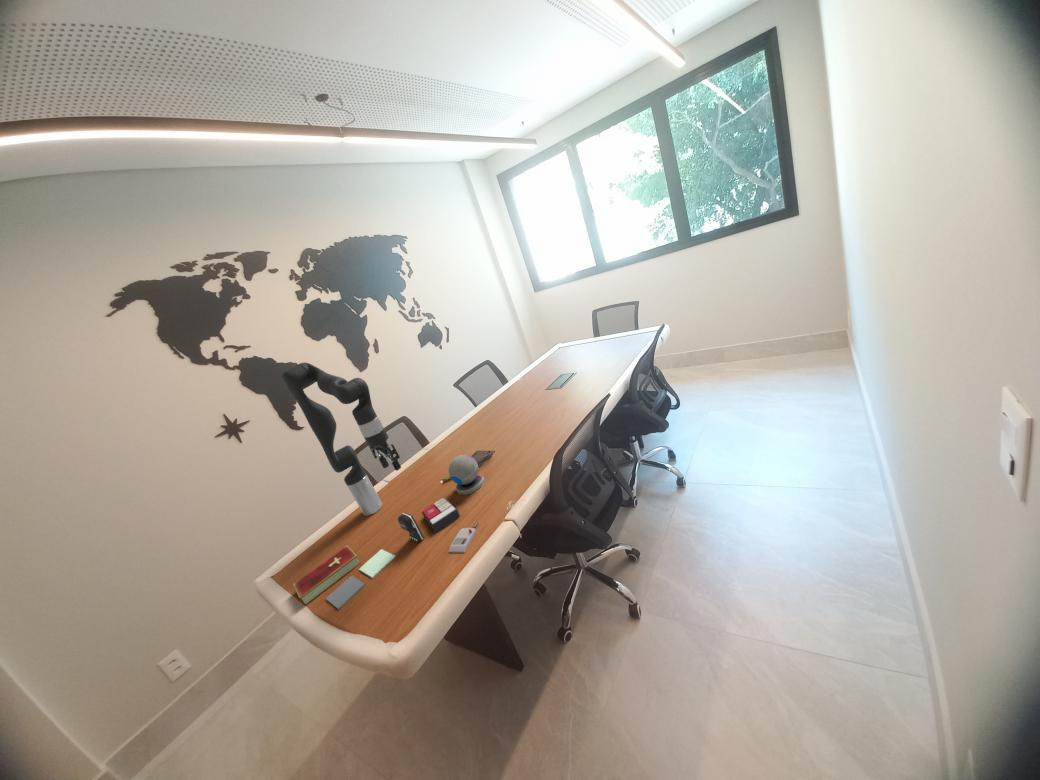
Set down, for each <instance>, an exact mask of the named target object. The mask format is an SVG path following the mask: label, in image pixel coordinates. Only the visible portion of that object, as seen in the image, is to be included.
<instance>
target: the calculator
mask: <svg viewBox="0 0 1040 780" xmlns="http://www.w3.org/2000/svg"><path fill="white" fill-rule="evenodd" d="M421 514H422V516H423V518H424V519H425V520H426V522H427V523H428V524H429V525H430V527H431V529H432V530H433V531H434V532H435V533H437V532H439V531H441V530H443V528H445V527H446V526H448V525H449V524H451V523H453V522H454V521H456V520H457V519H458V518H460V517H461V515H460V512H459V511H458V509H457V508H456V507H455V506H454V505H453V504H452V503H451V502H450V501H449V500H448V499H447V498H446V497H442V498H440V499H438V500H437V501H435V502H434V503H433V504H431V505H429V506H427V507H426V508H424V509H423V510H422V512H421Z"/></svg>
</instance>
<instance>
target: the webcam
mask: <svg viewBox="0 0 1040 780" xmlns="http://www.w3.org/2000/svg"><path fill="white" fill-rule="evenodd" d="M479 470H480V468H479V465H478V462H477V460H476V459H475V457H473V456H471V455H469V454H465V453H464V454H459V455H457V456H456V457H454V458H452V460H451V462H450V463H449V466H448V475H449V477H450V479H451V480H452V481H453V482H454V484H456V487H455V489H456V492H457V494H458V495H464V496H465V495H468V494H469V495H470V494H472V493H474V492H476V491H478V490H479V489H480V488H481V487H482V486H483V485H484V483H485V478H484V476H481V475H478V474H479Z"/></svg>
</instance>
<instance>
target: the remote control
mask: <svg viewBox="0 0 1040 780" xmlns="http://www.w3.org/2000/svg"><path fill="white" fill-rule="evenodd" d="M477 525H478V522H476V523H475V524H474V526H473V527H470V526H468V525H466V527H464V528H461V529H460V530H459V531H458V532H457V534H456V536H455V537H454V539H453V541H452V542H451V544H450V546H449V547H448V548H449V549H448V553H456V554H457V553H460V554H461V553H463V554H464V553H466V551H467V550H468V548H469V546H470V544H471V543H472V540H473V539H474V537H475V536H476V534H477V530H476V527H477Z"/></svg>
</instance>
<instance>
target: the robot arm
mask: <svg viewBox="0 0 1040 780" xmlns="http://www.w3.org/2000/svg"><path fill="white" fill-rule="evenodd" d="M281 377H282V380H283V382H284V384H285V386H286V387H287V390H289V392H290V394H291V395H292V397H293V398H294V399H295V401H296V403H297V404H298V406H299V408H300V409H301V411H302V413H303V415H304V416H305V419H306V421H307V424H308V425H309V427H310V428H311V430H312V432H313V433H314V435H315V438H317V440H318V441H319V443H320V446H321V447H322V449H323V452H324V454H325V456H326V457H327V460H328V463H329V465H330V466H331V468H332V470H333V471H334V472H336V473H337V474H339V473H342V472H344V471H345V470H348V469H349V468H351V469H350V470H349V472H348V473H347V474H346V475H345V477H344V479H343V481H344V483H345V484H346V487H347V489H348V490H349V491H350V493H351V495H352V497H353V498H354V501H356V505H358V507H359V510H360V511H361V513H362V514H363V516H365V517H366V516H371V515H373V514H376V513H377V512H378V511H379V510H380V509H381V508H382V507H383V502H382V500H381V498H380V497H379V495H378V493H377V491H376V489H375V488H374V486H373V483H372V482H371V480H370V479H369V476H368V475H367V473H366V471H365V469H364V467H363V465H362V463H361V461H360V460H359V457H358V456H357V453H356V451H355V449H354V448H353V447H352V446H350V445H345V446H343V447H341V448H339V449H337V450H336V451H335V449H334V440H335V436H336V433H337V422H336V419H335V417H334V416H333V413H332V412H331V410H330V409H329V408H327V406H324V405H322V404H320V403H318V402H316V401H314V400H313V399H311V398H309V396H308V395H307V394H306V393H305V391H304V390H305V389H306V388H308V387H310V386H312V385H314V384H315V383H317V387H318V389H319V390H320V391H321V392H323V393H324V394H326V395H330V396H333V397H335V398H336V399H337V400H338V401H339V402H340V403H341V404H343V405H349V404H350V405H351V404H352V403H354V402H356V401H358V404H357V405H356V406H355V407H354V408H353V409H352V412H351V414H352V415H353V418H354V420H355V421H356V424H357V426H358V427H359V431H360V433H361V434H362V436H363V438H364V440H365V442H366V444H367V447H369V449H370V451H371V453H372V455H373V457H374V459H377V460H378V461H379V463H380V464H381V467H382V468H383V469H387V468H388V467H389V462H388V461H387V460H389V461H390V462H391V464H392V467H393V469H394V471H399V470H400V469H401V468H402V466H401V463H400V462H399V461H398V460H399V459H400V458H401V457H400V455H399V452H398V451H397V449H396V447H395V446H394V444H393V443H391V444H388V442H387V440H388V439H389V435H388V433H387V431H386V429H385V427H384V425H383V423H382V422H381V419H380V418H379V417H378V415H377V413H376V411H375V409H374V408H373V404H372V403H373V402H372V399H371V394H370V388H369V385H368V384H367V382H366V381H365V380H364V379H363V378H361V377H355V378H353V379H350V380H349V381H348V380H346V379H345V378H344V377H340V376H337V375H333V374H330V373H327V372H326V371H324V370H323V369H321V368H319V367H317V366H315V365H314V364H311V363H308V362H301V363H300V362H299V363H298V364H296V365H294V366H292V367H290V368H288V369H286V370H284V371H283V372H282V373H281Z"/></svg>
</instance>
